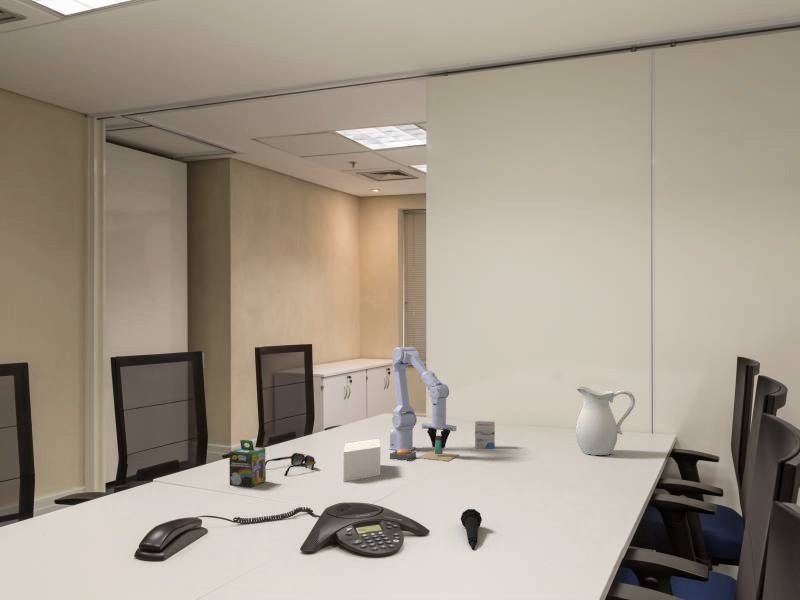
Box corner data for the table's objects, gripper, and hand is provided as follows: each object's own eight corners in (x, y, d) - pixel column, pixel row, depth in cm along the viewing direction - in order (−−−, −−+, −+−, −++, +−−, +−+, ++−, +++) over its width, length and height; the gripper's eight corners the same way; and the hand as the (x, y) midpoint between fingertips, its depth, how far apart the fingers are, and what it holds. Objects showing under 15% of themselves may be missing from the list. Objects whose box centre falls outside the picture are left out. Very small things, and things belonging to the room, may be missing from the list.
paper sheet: (417, 458, 273) (417, 457, 273) (429, 452, 285) (429, 451, 285) (448, 461, 267) (448, 460, 267) (458, 455, 279) (458, 454, 279)
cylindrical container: (433, 453, 275) (433, 436, 275) (436, 452, 278) (436, 435, 278) (440, 454, 274) (441, 437, 274) (443, 453, 277) (443, 436, 277)
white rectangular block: (396, 467, 257) (396, 440, 257) (362, 484, 230) (362, 454, 231) (362, 463, 263) (362, 437, 263) (325, 479, 236) (325, 450, 236)
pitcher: (573, 455, 281) (573, 388, 282) (578, 448, 297) (578, 385, 298) (633, 460, 272) (633, 391, 273) (635, 453, 288) (635, 387, 289)
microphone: (479, 562, 166) (477, 527, 186) (487, 542, 166) (483, 508, 186) (458, 555, 167) (458, 521, 186) (466, 534, 166) (464, 502, 186)
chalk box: (266, 481, 233) (266, 438, 233) (252, 487, 224) (252, 443, 224) (243, 479, 236) (243, 436, 236) (228, 485, 227) (228, 441, 227)
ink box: (494, 446, 299) (494, 419, 299) (494, 448, 294) (494, 421, 294) (474, 446, 300) (475, 419, 300) (475, 448, 295) (475, 421, 295)
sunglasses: (261, 470, 250) (262, 457, 250) (294, 464, 261) (294, 451, 261) (284, 477, 240) (285, 463, 240) (317, 470, 251) (317, 457, 252)
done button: (394, 455, 272) (394, 450, 272) (399, 453, 276) (399, 448, 276) (406, 456, 269) (406, 451, 270) (411, 454, 274) (411, 449, 274)
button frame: (389, 459, 271) (389, 453, 271) (398, 455, 278) (398, 450, 278) (408, 460, 267) (408, 455, 268) (415, 457, 275) (415, 451, 275)
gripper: (459, 414, 277) (458, 447, 277) (426, 411, 283) (425, 444, 283) (453, 416, 271) (452, 450, 270) (419, 413, 277) (419, 447, 276)
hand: (438, 447), depth 276 cm, fingers open, 3 cm apart
